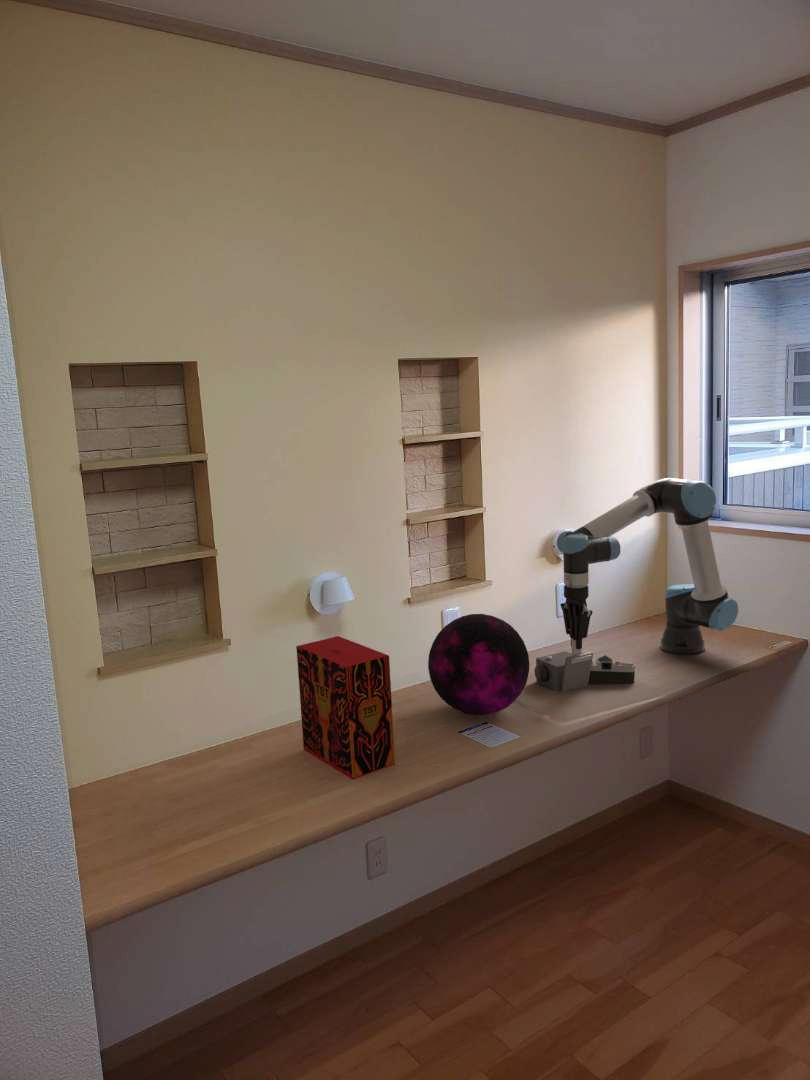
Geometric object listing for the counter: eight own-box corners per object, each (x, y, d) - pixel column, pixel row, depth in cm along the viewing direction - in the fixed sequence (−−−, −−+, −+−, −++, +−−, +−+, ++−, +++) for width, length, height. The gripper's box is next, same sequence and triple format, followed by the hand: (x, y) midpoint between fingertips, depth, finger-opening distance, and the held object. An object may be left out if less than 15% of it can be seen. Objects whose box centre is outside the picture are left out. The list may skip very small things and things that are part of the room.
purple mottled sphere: (409, 716, 266) (405, 619, 261) (472, 687, 287) (469, 598, 282) (489, 740, 246) (486, 636, 240) (550, 707, 267) (548, 611, 262)
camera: (632, 682, 289) (633, 652, 288) (636, 690, 280) (637, 659, 279) (582, 680, 291) (583, 651, 290) (585, 688, 282) (586, 657, 281)
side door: (585, 685, 283) (591, 651, 278) (589, 688, 281) (594, 653, 277) (560, 692, 278) (565, 657, 273) (563, 694, 277) (569, 659, 272)
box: (303, 750, 245) (296, 646, 240) (344, 736, 253) (338, 635, 247) (352, 779, 225) (345, 667, 220) (394, 764, 233) (389, 655, 228)
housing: (565, 677, 293) (565, 648, 291) (587, 686, 283) (587, 657, 282) (532, 685, 287) (531, 656, 285) (553, 695, 277) (553, 665, 276)
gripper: (553, 582, 276) (554, 654, 281) (579, 591, 265) (580, 665, 270) (572, 579, 280) (573, 650, 284) (599, 587, 268) (599, 661, 273)
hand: (576, 658), depth 277 cm, fingers closed
